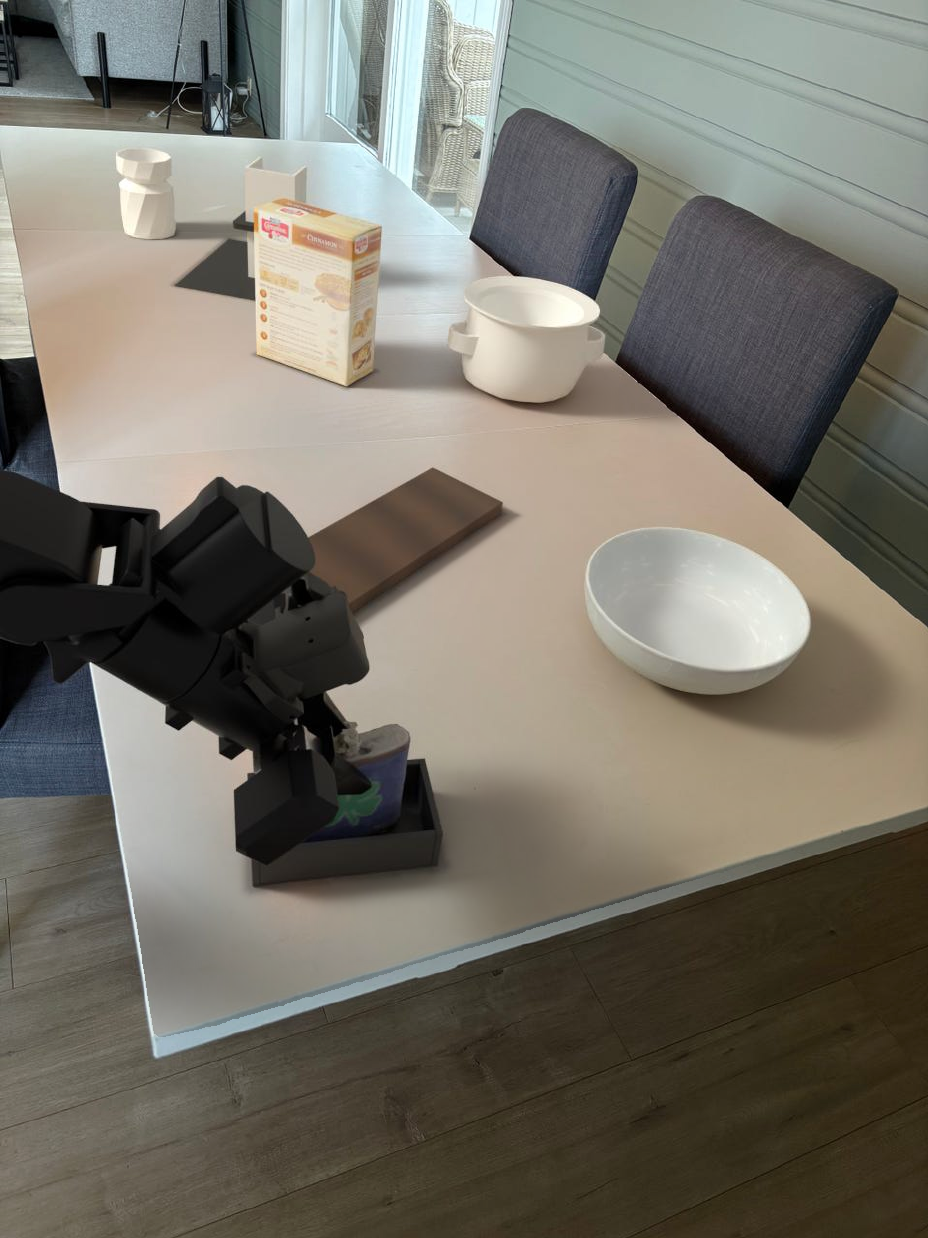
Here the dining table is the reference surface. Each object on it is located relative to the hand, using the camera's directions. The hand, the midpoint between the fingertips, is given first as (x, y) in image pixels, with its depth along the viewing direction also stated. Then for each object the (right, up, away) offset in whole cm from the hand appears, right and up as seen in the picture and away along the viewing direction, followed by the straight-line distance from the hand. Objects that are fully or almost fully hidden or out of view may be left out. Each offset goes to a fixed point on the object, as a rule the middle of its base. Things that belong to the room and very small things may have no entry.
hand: (363, 770), depth 62 cm
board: (-5, +15, +29) cm, 33 cm away
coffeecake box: (-14, +46, +63) cm, 79 cm away
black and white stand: (-24, +67, +87) cm, 112 cm away
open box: (-2, -5, +4) cm, 7 cm away
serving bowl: (+28, +8, +26) cm, 39 cm away
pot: (+15, +43, +66) cm, 80 cm away
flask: (-2, -5, +4) cm, 7 cm away
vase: (-47, +77, +95) cm, 131 cm away
